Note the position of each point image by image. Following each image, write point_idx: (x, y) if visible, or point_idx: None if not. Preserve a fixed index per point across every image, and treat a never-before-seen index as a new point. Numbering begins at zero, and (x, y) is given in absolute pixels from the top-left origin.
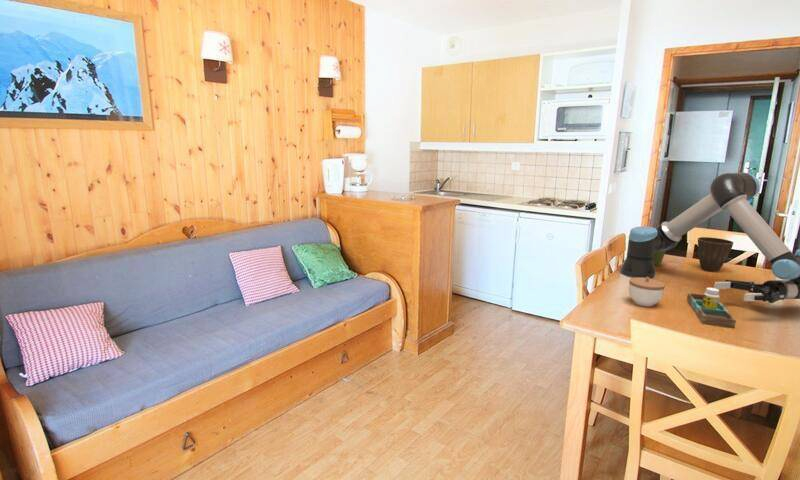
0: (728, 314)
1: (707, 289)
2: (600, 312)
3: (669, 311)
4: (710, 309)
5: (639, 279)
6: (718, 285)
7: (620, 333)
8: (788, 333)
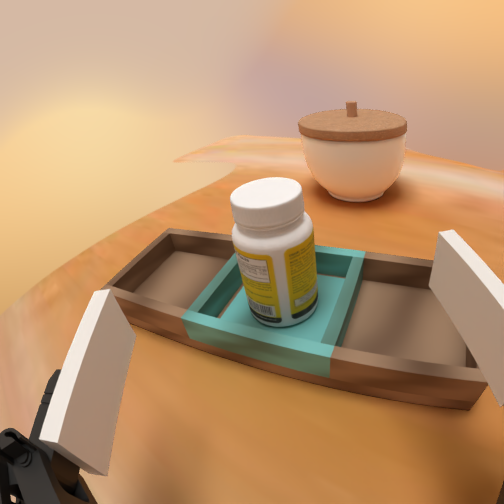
0: (153, 299)
1: (267, 180)
2: (272, 148)
3: None
4: (224, 266)
5: (370, 112)
6: (448, 274)
7: (179, 160)
8: None
